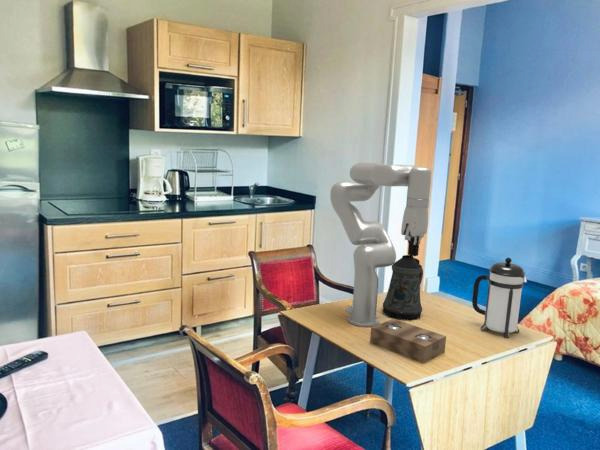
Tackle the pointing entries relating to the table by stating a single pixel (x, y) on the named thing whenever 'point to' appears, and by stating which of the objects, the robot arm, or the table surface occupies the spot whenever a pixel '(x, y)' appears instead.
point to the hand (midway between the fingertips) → (412, 255)
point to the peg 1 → (393, 327)
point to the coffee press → (501, 297)
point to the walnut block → (408, 340)
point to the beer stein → (404, 290)
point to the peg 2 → (423, 337)
